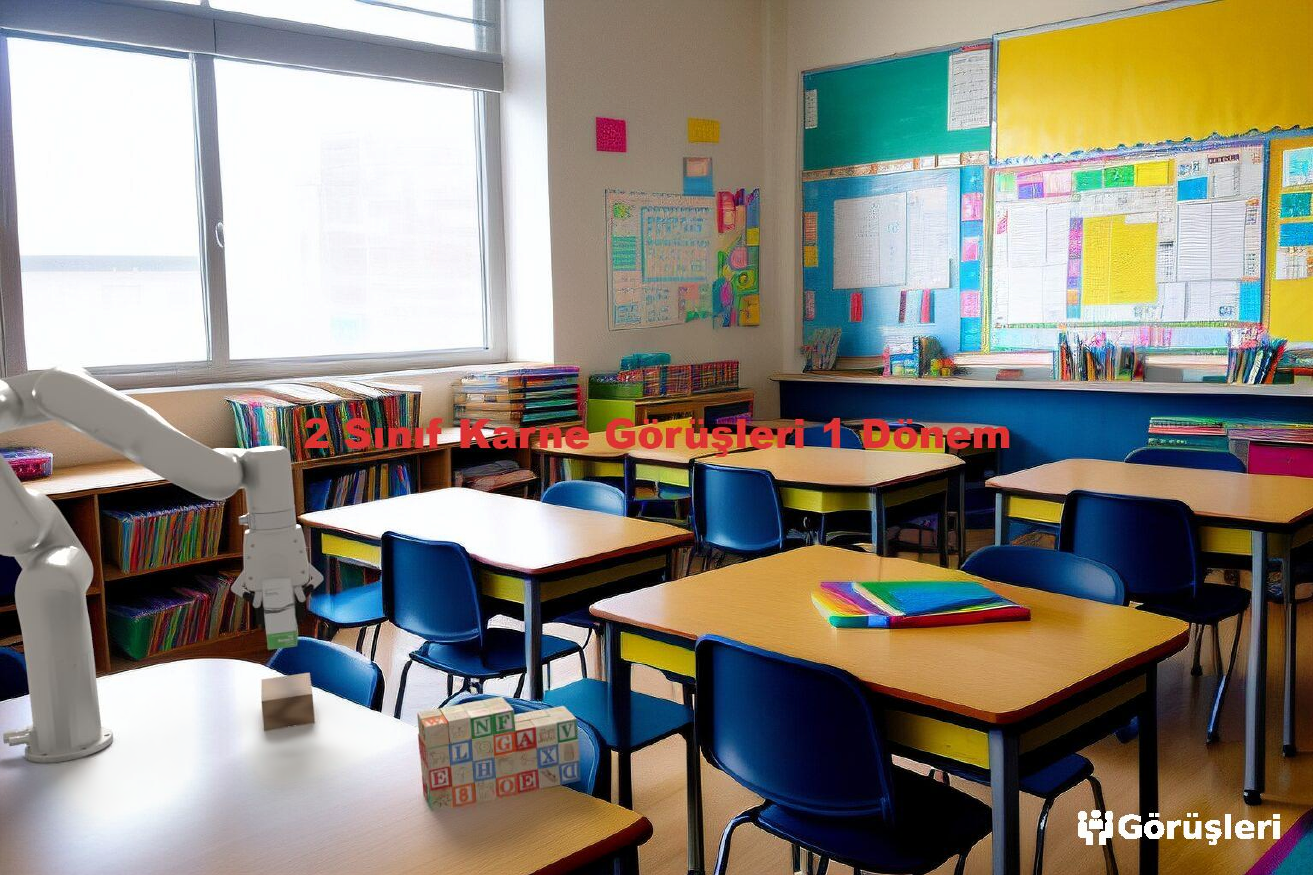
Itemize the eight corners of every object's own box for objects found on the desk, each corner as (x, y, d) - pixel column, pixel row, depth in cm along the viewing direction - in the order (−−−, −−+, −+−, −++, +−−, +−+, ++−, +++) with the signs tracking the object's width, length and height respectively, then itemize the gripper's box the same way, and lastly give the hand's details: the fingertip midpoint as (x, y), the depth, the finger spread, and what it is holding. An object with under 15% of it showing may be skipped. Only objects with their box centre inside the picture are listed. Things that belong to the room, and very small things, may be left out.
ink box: (298, 647, 185) (291, 577, 184) (266, 651, 184) (260, 581, 183) (298, 633, 194) (293, 566, 192) (268, 636, 192) (262, 569, 191)
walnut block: (264, 730, 183) (261, 701, 183) (263, 707, 195) (261, 679, 194) (314, 722, 186) (312, 693, 185) (311, 699, 197) (309, 672, 197)
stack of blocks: (568, 765, 164) (563, 684, 163) (581, 781, 158) (576, 698, 157) (422, 795, 156) (416, 710, 155) (430, 813, 150) (424, 725, 149)
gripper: (216, 529, 180) (227, 639, 182) (326, 518, 186) (335, 624, 188) (218, 522, 187) (228, 627, 189) (324, 511, 193) (332, 613, 195)
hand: (281, 624), depth 188 cm, fingers closed on ink box, 5 cm apart
